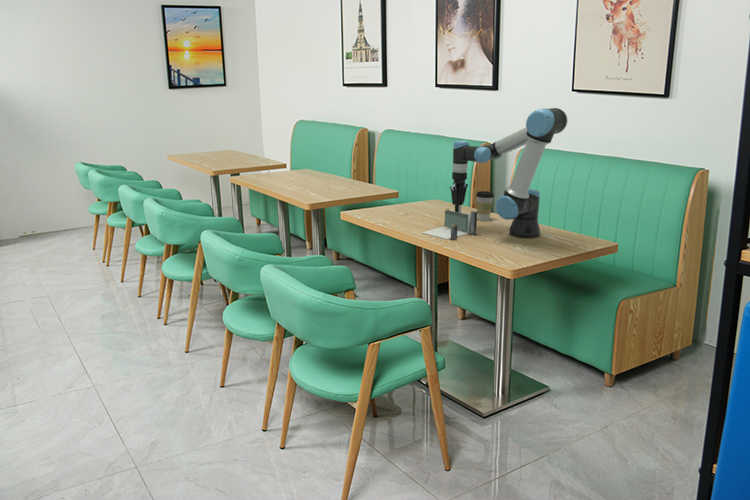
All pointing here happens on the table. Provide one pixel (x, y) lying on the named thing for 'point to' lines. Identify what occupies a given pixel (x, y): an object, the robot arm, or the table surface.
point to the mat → (443, 233)
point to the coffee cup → (484, 205)
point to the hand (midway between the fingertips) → (457, 217)
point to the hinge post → (473, 222)
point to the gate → (458, 220)
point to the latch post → (454, 232)
